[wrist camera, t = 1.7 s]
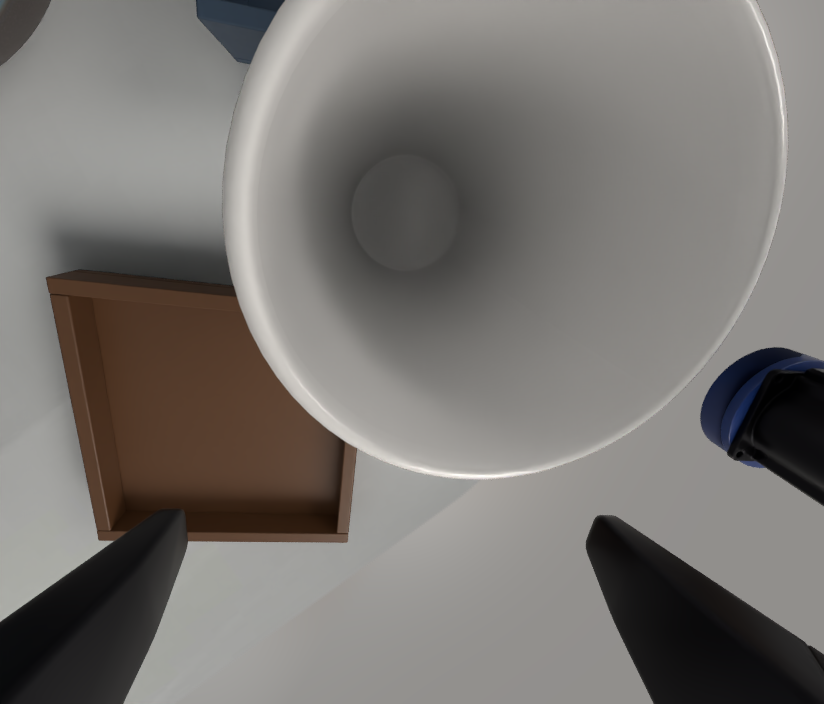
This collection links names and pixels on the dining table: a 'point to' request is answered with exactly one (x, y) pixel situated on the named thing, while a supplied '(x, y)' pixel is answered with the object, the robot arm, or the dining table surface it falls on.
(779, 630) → the robot arm
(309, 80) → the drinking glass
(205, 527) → the tray
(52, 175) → the dining table surface
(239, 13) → the bin
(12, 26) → the vase
